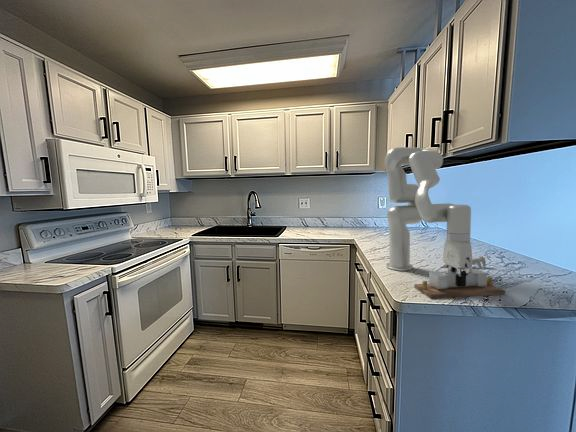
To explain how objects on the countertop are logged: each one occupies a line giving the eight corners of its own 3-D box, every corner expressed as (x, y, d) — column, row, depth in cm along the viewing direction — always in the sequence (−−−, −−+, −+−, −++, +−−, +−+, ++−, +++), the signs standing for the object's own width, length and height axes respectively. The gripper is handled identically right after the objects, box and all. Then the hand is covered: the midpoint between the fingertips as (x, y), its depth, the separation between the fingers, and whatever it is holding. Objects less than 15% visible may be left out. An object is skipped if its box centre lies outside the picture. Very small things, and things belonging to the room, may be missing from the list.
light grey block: (429, 284, 102) (429, 271, 101) (475, 281, 103) (475, 268, 102) (438, 289, 96) (438, 276, 96) (486, 285, 97) (487, 273, 97)
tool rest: (414, 287, 105) (414, 276, 104) (480, 283, 106) (480, 273, 106) (430, 298, 94) (430, 286, 93) (504, 294, 95) (504, 282, 95)
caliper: (484, 267, 128) (484, 255, 127) (485, 268, 127) (485, 255, 126) (440, 267, 131) (440, 255, 130) (441, 268, 130) (441, 255, 129)
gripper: (435, 234, 106) (434, 277, 108) (464, 241, 90) (463, 293, 91) (452, 233, 106) (451, 276, 108) (485, 240, 90) (483, 291, 92)
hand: (457, 283), depth 100 cm, fingers closed on light grey block, 3 cm apart
